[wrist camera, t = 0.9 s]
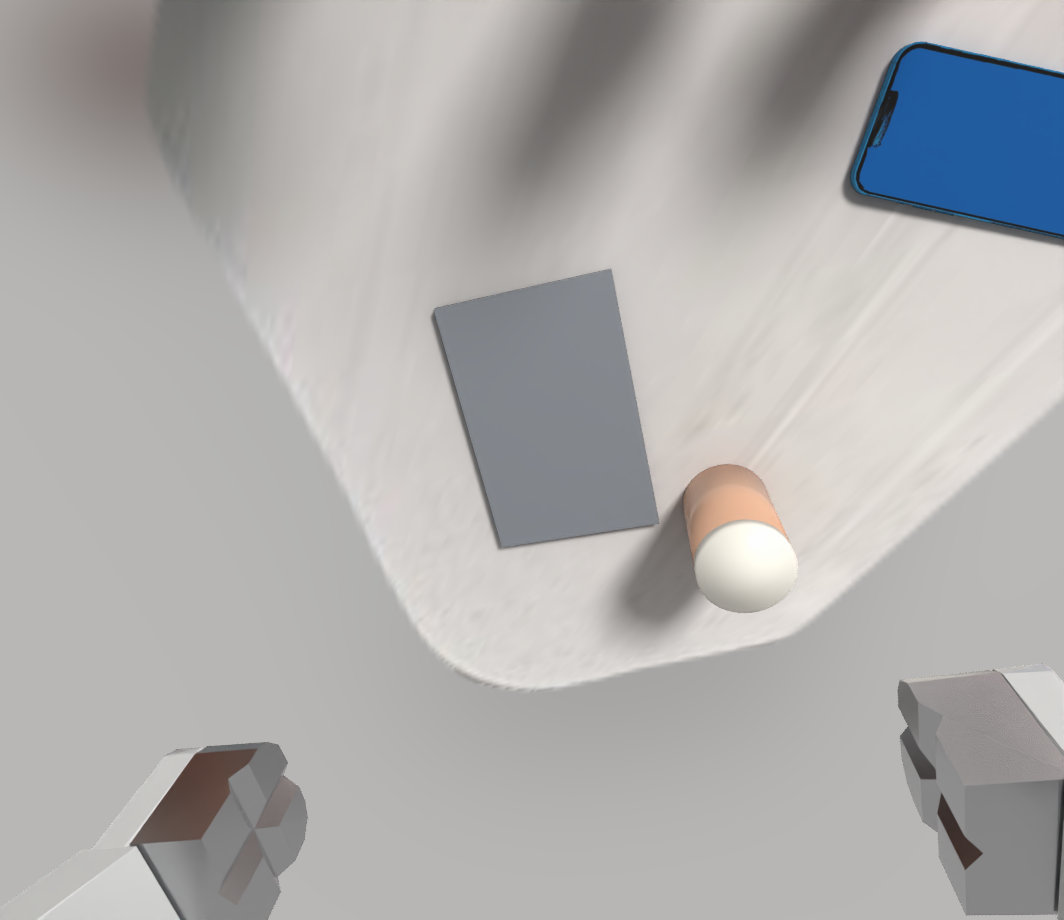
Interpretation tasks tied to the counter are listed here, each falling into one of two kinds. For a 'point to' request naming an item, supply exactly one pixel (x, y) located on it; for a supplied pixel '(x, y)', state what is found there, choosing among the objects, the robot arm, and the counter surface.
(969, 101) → the smartphone
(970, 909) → the robot arm
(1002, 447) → the counter surface
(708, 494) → the terracotta jar
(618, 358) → the slate mat
